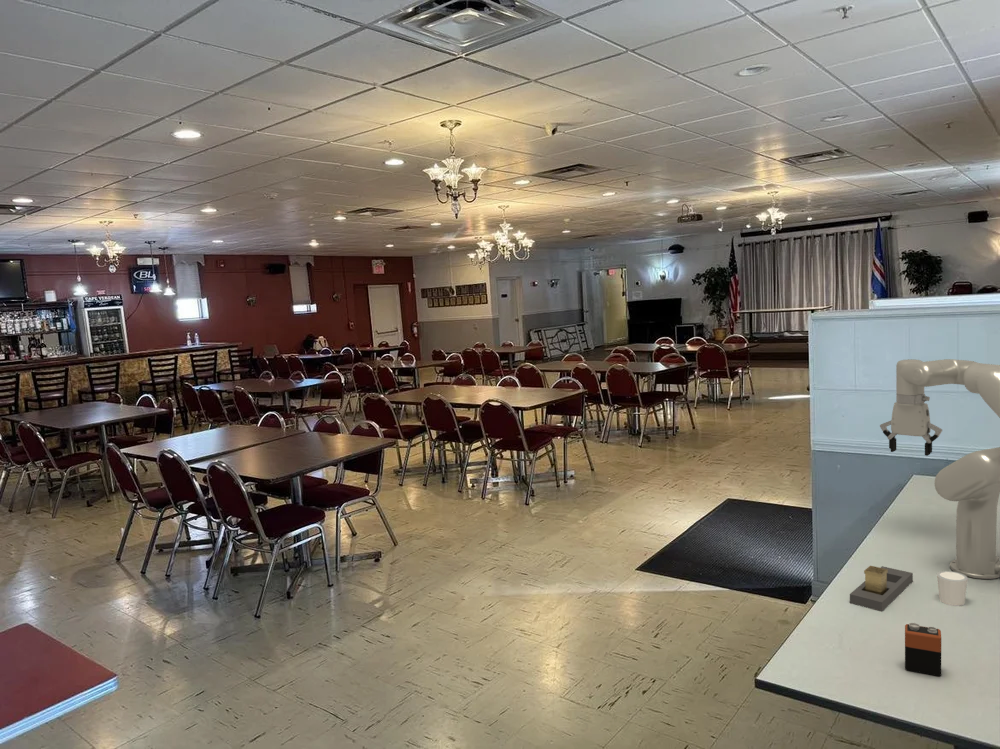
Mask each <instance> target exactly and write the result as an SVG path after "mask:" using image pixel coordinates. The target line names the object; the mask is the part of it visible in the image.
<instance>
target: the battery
mask: <svg viewBox="0 0 1000 749" xmlns="http://www.w3.org/2000/svg"><path fill="white" fill-rule="evenodd" d="M904 669H905V670H906V671H907V672H914V673H919V674H925V675H930V676H935V677H940V676H942V631H941V629H940V628H936V627H934V626H922V625H920V624H918V623H916V622H909V624H907V623H906V624H905V625H904Z"/></svg>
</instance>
